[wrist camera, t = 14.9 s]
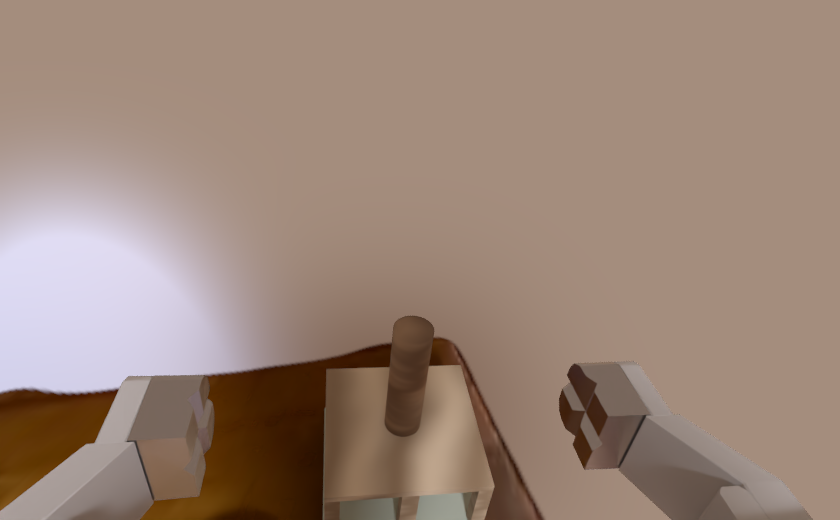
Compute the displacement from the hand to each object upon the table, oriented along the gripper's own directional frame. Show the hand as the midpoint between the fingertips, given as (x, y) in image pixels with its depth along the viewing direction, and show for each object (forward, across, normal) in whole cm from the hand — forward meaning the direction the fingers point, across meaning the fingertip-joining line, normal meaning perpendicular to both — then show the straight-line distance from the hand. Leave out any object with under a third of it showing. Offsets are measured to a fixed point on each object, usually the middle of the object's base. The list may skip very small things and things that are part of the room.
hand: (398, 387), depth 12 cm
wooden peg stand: (+22, -5, +35) cm, 41 cm away
